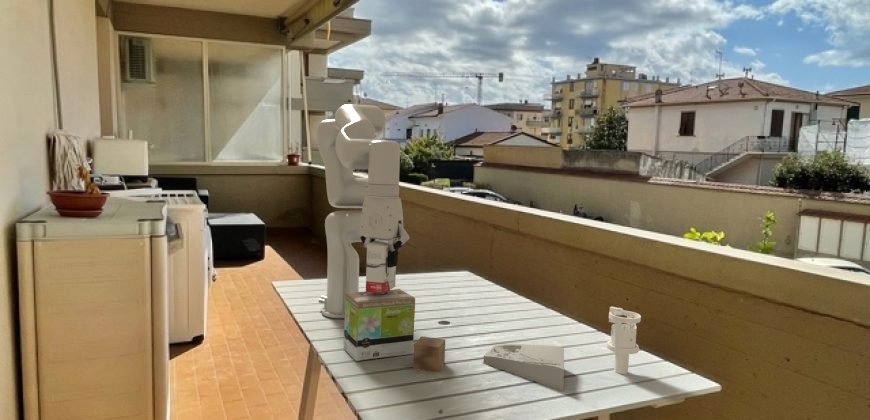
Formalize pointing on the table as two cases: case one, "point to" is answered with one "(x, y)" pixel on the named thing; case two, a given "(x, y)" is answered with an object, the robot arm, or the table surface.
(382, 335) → the tea box
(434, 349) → the walnut block
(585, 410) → the table surface
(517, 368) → the ramp
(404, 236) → the robot arm
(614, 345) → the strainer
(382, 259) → the ink box
